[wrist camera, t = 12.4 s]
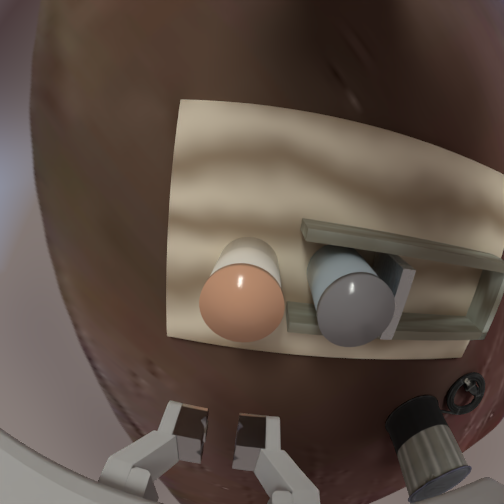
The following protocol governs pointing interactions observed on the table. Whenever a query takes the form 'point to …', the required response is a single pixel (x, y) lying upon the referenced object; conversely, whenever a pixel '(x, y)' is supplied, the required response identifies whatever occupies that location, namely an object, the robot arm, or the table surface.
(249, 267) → the jar
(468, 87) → the table surface
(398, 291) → the pusher
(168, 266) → the cream rippled cloth
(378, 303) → the jar
